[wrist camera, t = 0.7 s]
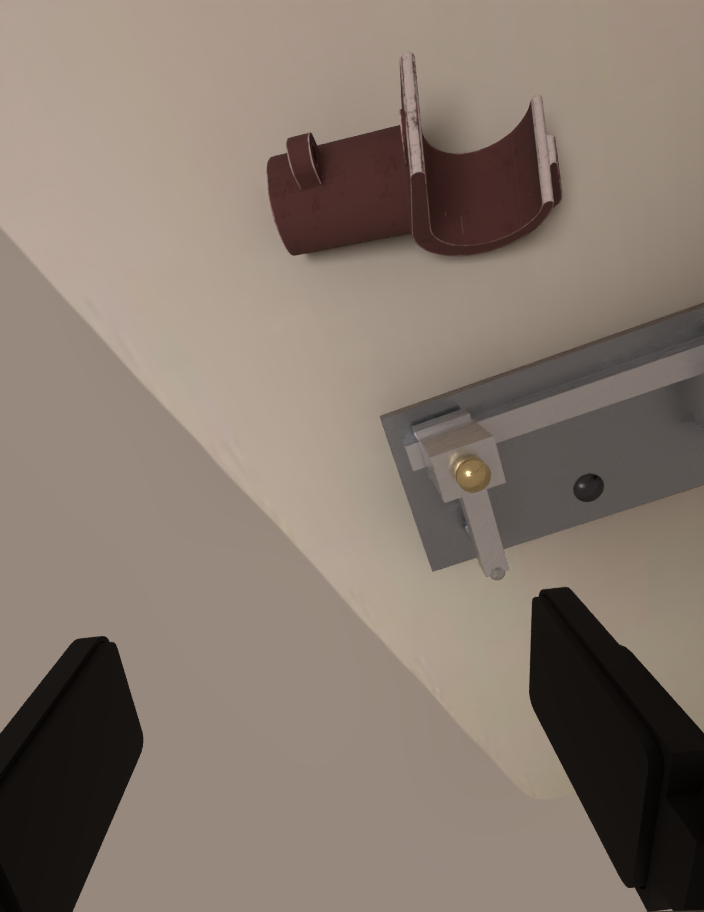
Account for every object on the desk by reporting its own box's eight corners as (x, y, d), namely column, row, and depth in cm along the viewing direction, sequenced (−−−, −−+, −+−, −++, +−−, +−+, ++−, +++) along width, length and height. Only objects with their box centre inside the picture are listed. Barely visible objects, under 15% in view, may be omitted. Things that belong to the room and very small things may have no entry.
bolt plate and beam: (767, 280, 33) (899, 271, 25) (778, 452, 37) (893, 489, 30) (379, 416, 35) (391, 446, 28) (429, 564, 40) (452, 626, 32)
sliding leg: (462, 408, 34) (499, 436, 26) (496, 527, 37) (537, 583, 29) (411, 425, 34) (433, 459, 26) (448, 542, 37) (477, 602, 30)
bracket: (561, 243, 30) (613, 128, 20) (311, 287, 33) (253, 208, 24) (551, 154, 30) (597, -3, 20) (306, 207, 34) (245, 97, 24)
